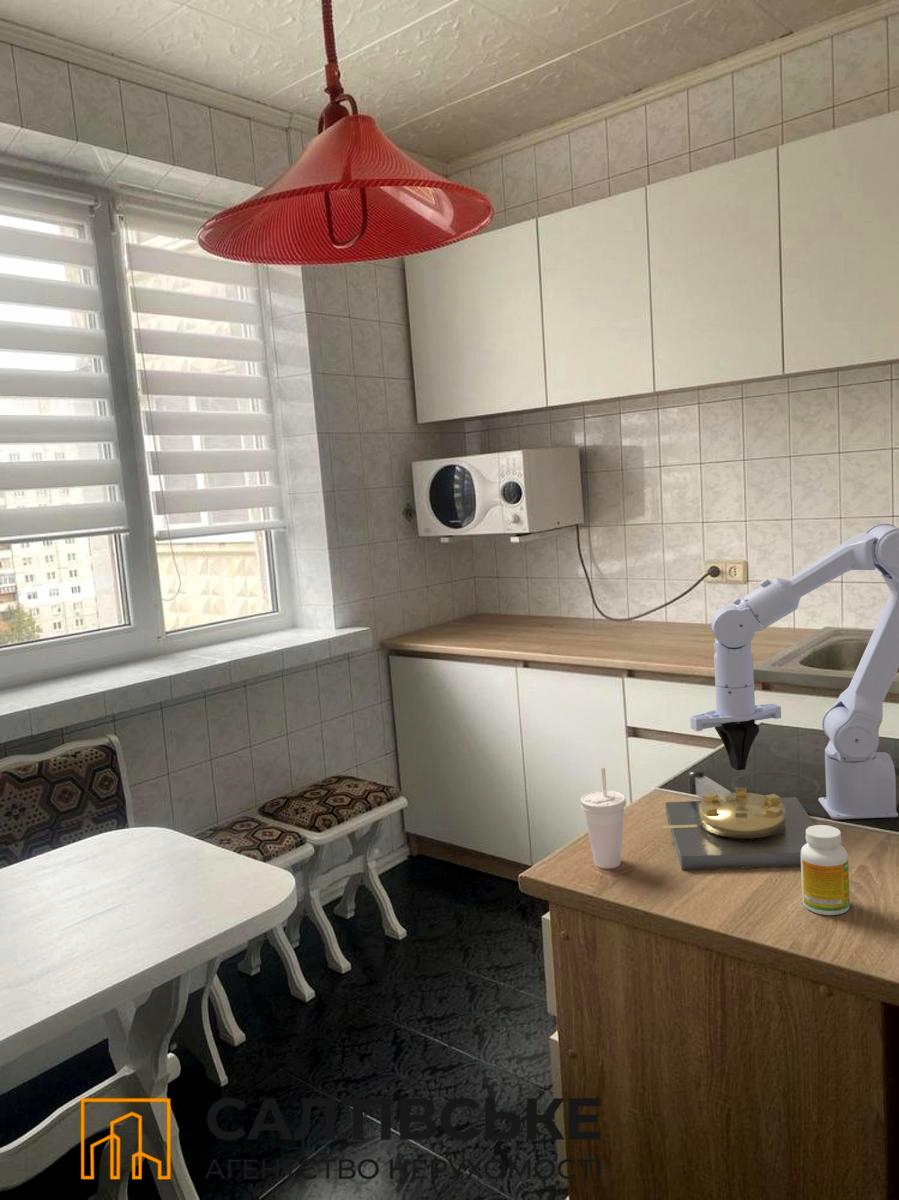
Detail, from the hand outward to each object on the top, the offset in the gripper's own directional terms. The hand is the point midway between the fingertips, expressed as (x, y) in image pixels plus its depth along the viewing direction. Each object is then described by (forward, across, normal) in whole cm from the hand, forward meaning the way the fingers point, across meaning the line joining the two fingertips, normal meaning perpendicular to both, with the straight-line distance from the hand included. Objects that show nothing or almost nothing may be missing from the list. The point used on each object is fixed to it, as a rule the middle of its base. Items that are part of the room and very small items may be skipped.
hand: (738, 768), depth 141 cm
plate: (+7, +5, +9) cm, 13 cm away
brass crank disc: (+5, +5, +5) cm, 8 cm away
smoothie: (+7, +26, +9) cm, 29 cm away
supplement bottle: (+7, +6, +31) cm, 32 cm away
